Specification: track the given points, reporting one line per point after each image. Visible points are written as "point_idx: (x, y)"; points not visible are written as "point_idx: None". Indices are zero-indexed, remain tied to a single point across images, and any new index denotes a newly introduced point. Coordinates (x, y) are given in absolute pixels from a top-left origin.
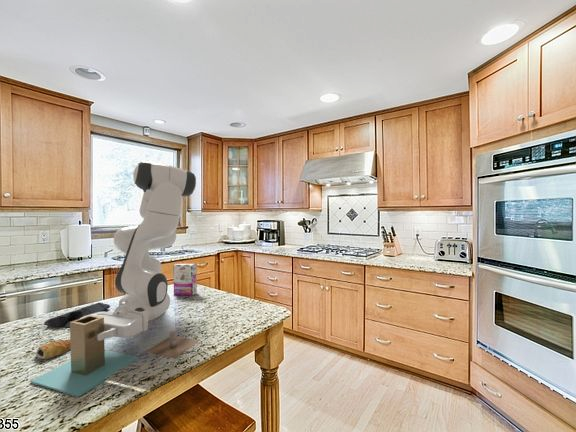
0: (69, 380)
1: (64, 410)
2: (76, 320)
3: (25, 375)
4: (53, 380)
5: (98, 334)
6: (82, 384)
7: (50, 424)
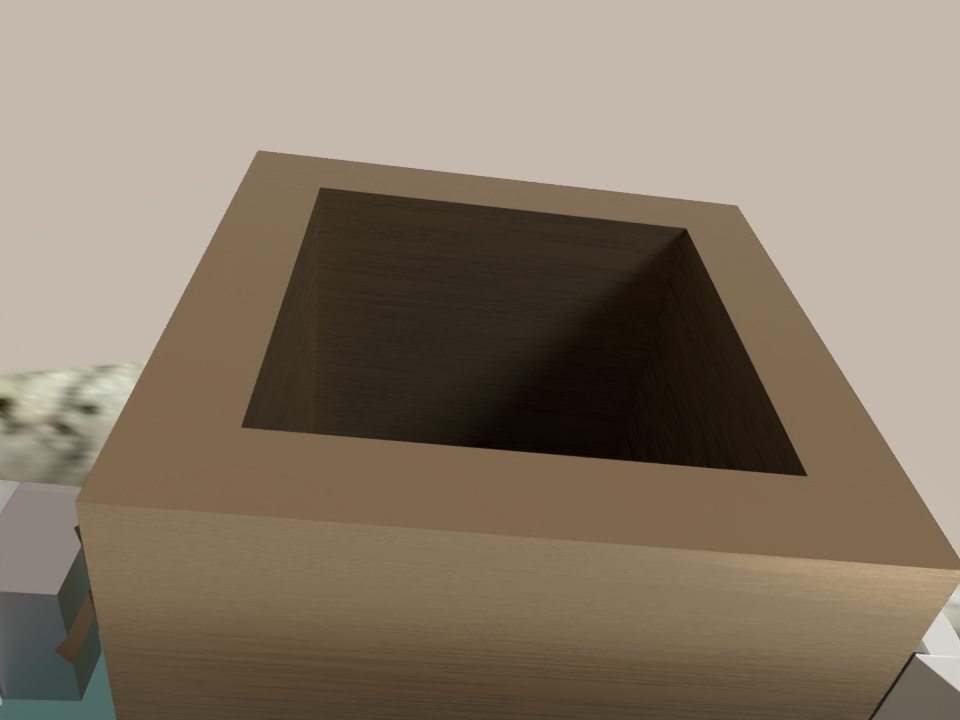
0: None
1: (68, 461)
2: (742, 263)
3: None
4: None
5: (18, 485)
6: None
7: (60, 382)
